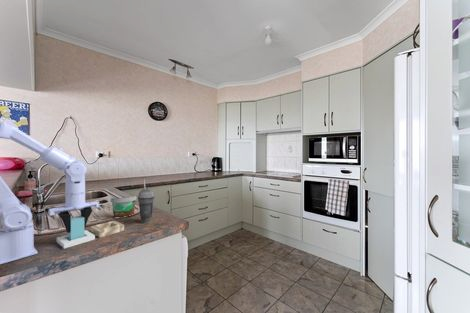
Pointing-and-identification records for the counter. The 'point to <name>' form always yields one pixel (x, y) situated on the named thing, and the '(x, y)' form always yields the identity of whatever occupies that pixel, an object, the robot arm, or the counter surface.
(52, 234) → the counter surface
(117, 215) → the food container
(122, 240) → the counter surface
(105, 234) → the ash socket block
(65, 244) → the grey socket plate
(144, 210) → the beverage cup
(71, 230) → the teal plug
